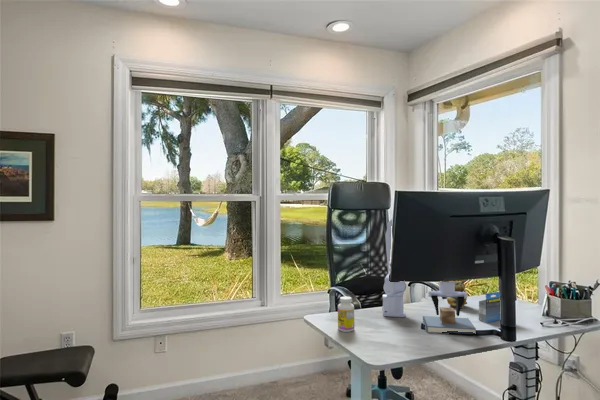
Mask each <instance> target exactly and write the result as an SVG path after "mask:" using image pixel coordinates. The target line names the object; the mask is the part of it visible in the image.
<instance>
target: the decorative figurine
mask: <svg viewBox="0 0 600 400" xmlns="http://www.w3.org/2000/svg"><path fill="white" fill-rule="evenodd" d="M466 282H467V281H455V291H457V292H465V289H466V286H465V283H466ZM467 298H468V297H467ZM467 298H464V299H465V301H464V303H463V305H462V307H461V309H463V308H465V306H466V305H468V302H467ZM446 301H447V304H448V305H450V307H451V308H453V309H456V297H446Z"/></svg>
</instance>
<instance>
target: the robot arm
mask: <svg viewBox="0 0 600 400" xmlns="http://www.w3.org/2000/svg"><path fill="white" fill-rule="evenodd" d="M392 219H393V218H391V219H390V220H389V221H388V222H387V224H386V232H385V236H384V237H385V238H384V239H385V253H386V263H387V265H386V266H387V274H386V275H385V277H384V284H383V291H384V293H385V294H382V307H381V308H382V309H381V310H382V316H383V317H394V318H395V317H396V318H397V317H399V318H405V317H406V313H405V309H404V294H405V292H406V290H407V283H406V281H405V282H390V281H389V261H390V249H391V226H392ZM438 285H439V286H438V288H439V290H428V291H427V297H429V298H431V301H432V302H433V305H434V310H435V313H436V316H440V308H439V298H440V297H441V298H447V297H456V308H455V309H456V310H455V316H457V317H460V314H461V313H460V312H461V310H462V308H461V307H462V305H463V303H464V301H465V299H464V298H468V293H467V292H465V291H463V292H457V291H455V281H450V282H438Z"/></svg>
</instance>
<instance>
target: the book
mask: <svg viewBox="0 0 600 400" xmlns="http://www.w3.org/2000/svg"><path fill="white" fill-rule="evenodd" d="M423 323H424V324H423ZM422 324H423V326H424V325H425V327H424V330H425V332H426V333H431V334H433V333H434V334H436V333H437V334H443V333H442V332H447V331H458V332H473V333H475V334H476V330H477V328H476V327H475V325H474V324H473V322H472V321H471V319H469V318H468V317H455V324H445V323H442V322H441V320H440V316H429V315H426V316H425V315H422Z"/></svg>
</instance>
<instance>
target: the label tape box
mask: <svg viewBox="0 0 600 400" xmlns="http://www.w3.org/2000/svg"><path fill="white" fill-rule="evenodd" d="M499 292H500V291H494V292H487V293H485V299H482V300H479V301H478V321H480V322H482V323H485V324H488V323H492V322H496V321H501V314H500V299H499Z"/></svg>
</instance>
